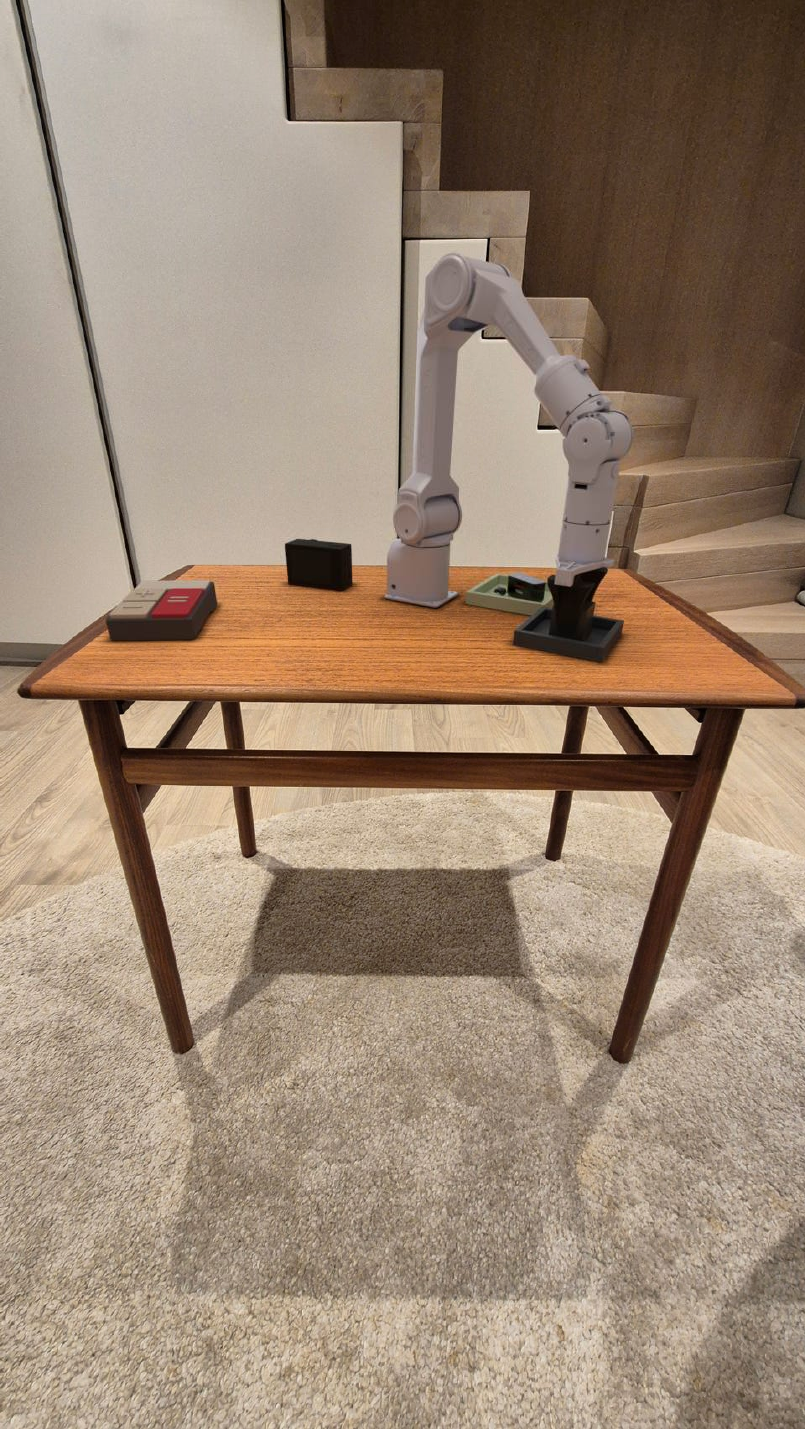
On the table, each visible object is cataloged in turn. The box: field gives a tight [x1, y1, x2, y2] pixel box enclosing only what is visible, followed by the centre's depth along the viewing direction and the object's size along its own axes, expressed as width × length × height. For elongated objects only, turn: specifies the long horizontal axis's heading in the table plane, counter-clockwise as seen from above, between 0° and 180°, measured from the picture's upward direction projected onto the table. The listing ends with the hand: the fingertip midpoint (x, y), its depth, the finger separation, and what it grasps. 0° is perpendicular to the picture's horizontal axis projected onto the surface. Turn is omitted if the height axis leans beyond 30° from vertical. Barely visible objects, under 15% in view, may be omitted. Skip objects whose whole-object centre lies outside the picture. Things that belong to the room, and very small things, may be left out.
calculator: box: [105, 579, 218, 642], centre depth 84 cm, size 11×4×15 cm
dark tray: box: [512, 607, 625, 663], centre depth 80 cm, size 12×12×2 cm
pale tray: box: [465, 573, 554, 617], centre depth 96 cm, size 13×13×2 cm
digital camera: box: [284, 538, 354, 592], centre depth 101 cm, size 10×5×7 cm, turn 69°
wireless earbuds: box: [494, 572, 547, 602], centre depth 94 cm, size 5×7×3 cm, turn 32°
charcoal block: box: [549, 600, 597, 642], centre depth 80 cm, size 4×4×4 cm
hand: (570, 626), depth 80 cm, fingers closed on charcoal block, 4 cm apart
